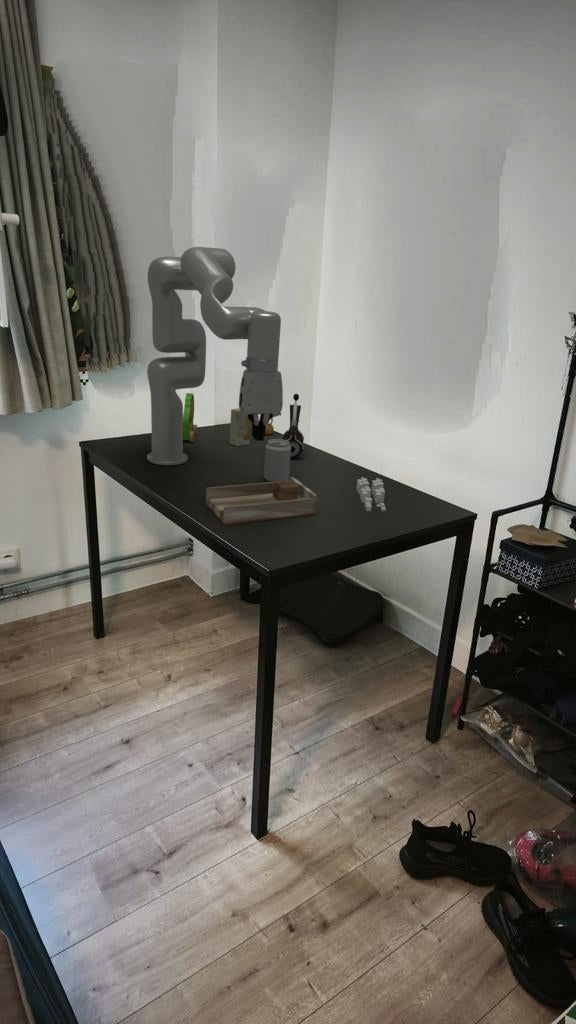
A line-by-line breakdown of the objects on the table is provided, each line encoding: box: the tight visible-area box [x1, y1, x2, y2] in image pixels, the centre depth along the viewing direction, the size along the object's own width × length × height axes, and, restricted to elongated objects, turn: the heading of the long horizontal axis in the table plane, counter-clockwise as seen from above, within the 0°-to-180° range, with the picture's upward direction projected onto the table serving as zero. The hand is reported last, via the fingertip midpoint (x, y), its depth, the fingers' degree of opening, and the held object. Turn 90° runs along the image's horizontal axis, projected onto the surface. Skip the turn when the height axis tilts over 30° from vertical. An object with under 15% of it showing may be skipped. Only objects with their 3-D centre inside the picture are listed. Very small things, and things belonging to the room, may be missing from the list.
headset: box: [281, 393, 305, 459], centre depth 210 cm, size 17×8×20 cm, turn 178°
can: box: [263, 438, 291, 482], centre depth 186 cm, size 8×8×12 cm
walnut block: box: [273, 479, 299, 501], centre depth 167 cm, size 5×5×4 cm
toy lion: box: [183, 392, 198, 443], centre depth 222 cm, size 16×5×15 cm, turn 1°
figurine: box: [265, 411, 282, 435], centre depth 232 cm, size 8×6×12 cm
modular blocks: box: [356, 476, 386, 513], centre depth 176 cm, size 20×7×4 cm, turn 2°
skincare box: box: [229, 407, 252, 447], centre depth 218 cm, size 6×4×12 cm
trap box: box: [205, 476, 318, 526], centre depth 165 cm, size 15×25×6 cm, turn 115°
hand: (258, 439), depth 158 cm, fingers closed
